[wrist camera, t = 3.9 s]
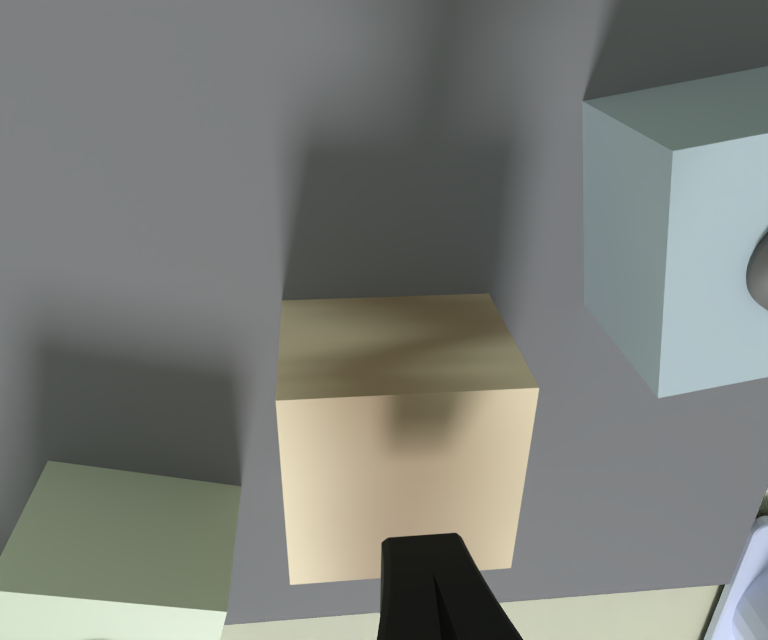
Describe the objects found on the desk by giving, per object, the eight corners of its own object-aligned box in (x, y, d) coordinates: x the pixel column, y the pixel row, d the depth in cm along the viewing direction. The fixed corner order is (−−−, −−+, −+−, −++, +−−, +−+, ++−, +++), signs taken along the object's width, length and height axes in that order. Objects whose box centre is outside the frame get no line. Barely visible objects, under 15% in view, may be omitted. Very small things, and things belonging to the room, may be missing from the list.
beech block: (488, 293, 16) (539, 387, 13) (472, 452, 19) (511, 568, 15) (282, 300, 16) (275, 400, 12) (292, 462, 18) (290, 584, 15)
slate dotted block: (810, 58, 14) (985, 96, 11) (778, 266, 17) (910, 355, 13) (582, 101, 14) (678, 154, 11) (584, 304, 17) (662, 404, 13)
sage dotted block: (241, 486, 18) (225, 619, 15) (212, 606, 21) (193, 747, 17) (48, 460, 17) (-21, 597, 14) (39, 590, 19) (-21, 737, 16)
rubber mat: (944, 1, 14) (959, 2, 14) (723, 574, 23) (729, 583, 23) (-274, -13, 12) (-291, -12, 12) (-4, 632, 21) (-9, 644, 20)
